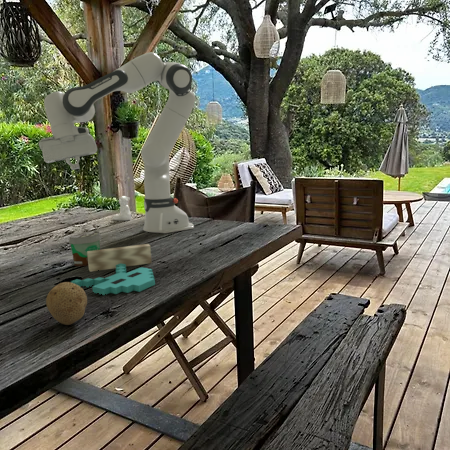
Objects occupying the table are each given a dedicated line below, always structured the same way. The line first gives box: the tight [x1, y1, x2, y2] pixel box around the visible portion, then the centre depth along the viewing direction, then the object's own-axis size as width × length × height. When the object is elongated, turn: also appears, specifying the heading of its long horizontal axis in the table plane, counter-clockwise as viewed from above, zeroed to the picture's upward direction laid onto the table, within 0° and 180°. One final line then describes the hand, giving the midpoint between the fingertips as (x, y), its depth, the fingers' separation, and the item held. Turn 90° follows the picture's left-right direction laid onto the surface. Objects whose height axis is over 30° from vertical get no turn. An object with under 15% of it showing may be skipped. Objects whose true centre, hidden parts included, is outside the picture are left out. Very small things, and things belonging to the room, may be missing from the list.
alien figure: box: [70, 263, 156, 296], centre depth 134 cm, size 20×2×20 cm
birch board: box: [87, 243, 152, 272], centre depth 149 cm, size 20×3×6 cm, turn 114°
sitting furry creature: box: [112, 195, 133, 222], centre depth 225 cm, size 10×9×12 cm
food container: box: [68, 229, 102, 267], centre depth 153 cm, size 12×6×10 cm, turn 152°
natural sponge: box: [45, 281, 88, 326], centre depth 105 cm, size 9×9×10 cm
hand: (75, 168), depth 176 cm, fingers closed
